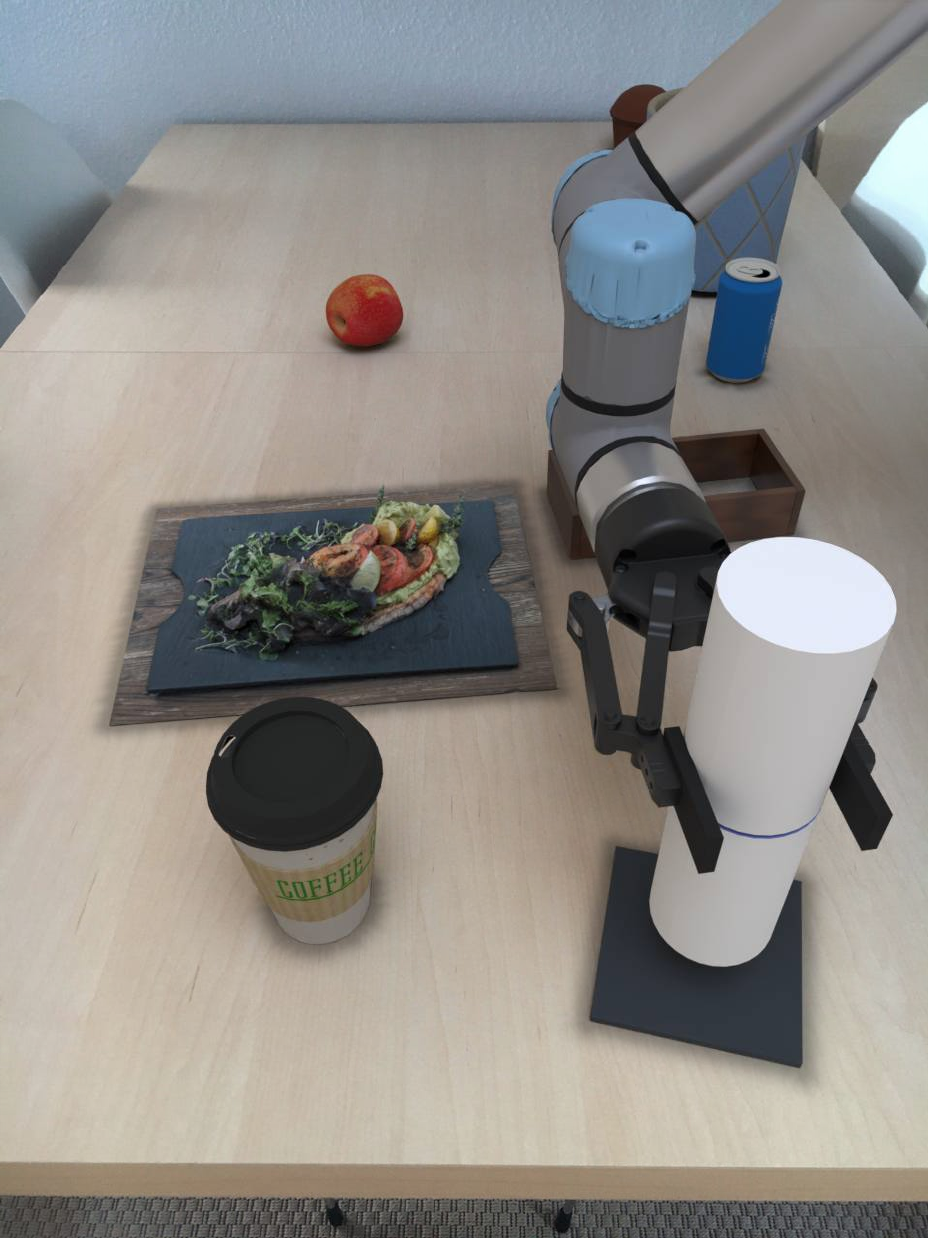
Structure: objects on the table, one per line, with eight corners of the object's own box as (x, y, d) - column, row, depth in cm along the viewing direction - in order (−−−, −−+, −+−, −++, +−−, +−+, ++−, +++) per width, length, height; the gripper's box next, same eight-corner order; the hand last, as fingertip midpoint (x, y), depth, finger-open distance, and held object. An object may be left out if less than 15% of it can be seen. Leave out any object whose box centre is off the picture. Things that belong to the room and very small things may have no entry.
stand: (754, 471, 98) (764, 427, 94) (794, 534, 90) (806, 490, 87) (546, 493, 96) (548, 449, 92) (569, 559, 89) (572, 515, 85)
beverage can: (751, 391, 109) (772, 287, 100) (696, 376, 111) (712, 273, 103) (771, 366, 113) (793, 263, 104) (717, 352, 115) (734, 251, 107)
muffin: (598, 144, 167) (602, 79, 160) (661, 139, 169) (668, 74, 162) (619, 169, 159) (624, 101, 152) (685, 163, 160) (693, 95, 153)
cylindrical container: (713, 991, 54) (817, 680, 37) (624, 898, 58) (680, 580, 41) (799, 920, 57) (933, 602, 40) (709, 836, 61) (794, 516, 44)
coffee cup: (378, 983, 60) (355, 842, 50) (224, 958, 61) (170, 816, 51) (412, 847, 67) (398, 698, 57) (273, 827, 68) (235, 678, 58)
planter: (644, 305, 124) (663, 136, 110) (621, 243, 138) (635, 86, 124) (795, 300, 124) (833, 131, 111) (757, 238, 138) (786, 81, 124)
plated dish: (511, 480, 98) (512, 416, 92) (563, 692, 77) (568, 626, 72) (152, 512, 95) (132, 448, 90) (110, 739, 75) (82, 674, 70)
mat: (799, 885, 64) (801, 880, 64) (800, 1068, 56) (802, 1064, 55) (615, 850, 66) (616, 845, 66) (589, 1021, 58) (590, 1016, 58)
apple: (412, 347, 117) (408, 283, 112) (348, 366, 114) (341, 301, 109) (383, 321, 122) (377, 258, 117) (320, 338, 120) (312, 274, 114)
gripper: (793, 561, 65) (975, 861, 48) (491, 595, 63) (572, 919, 46) (820, 466, 60) (1033, 765, 43) (491, 499, 58) (583, 825, 41)
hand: (794, 844), depth 45 cm, fingers closed on cylindrical container, 7 cm apart
